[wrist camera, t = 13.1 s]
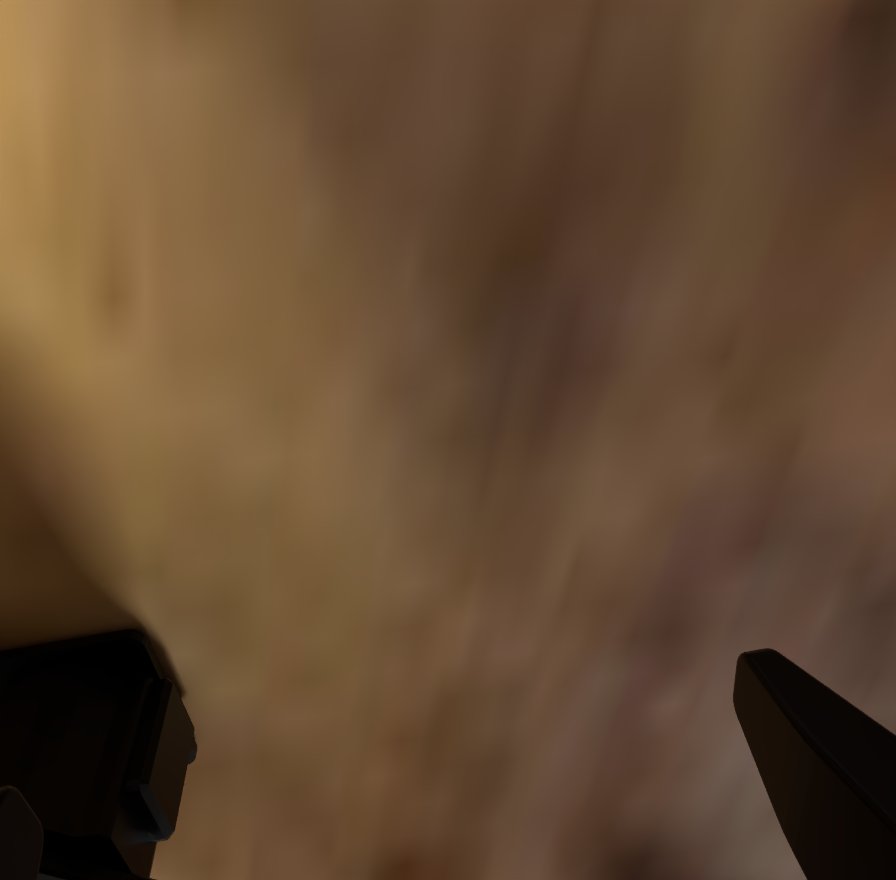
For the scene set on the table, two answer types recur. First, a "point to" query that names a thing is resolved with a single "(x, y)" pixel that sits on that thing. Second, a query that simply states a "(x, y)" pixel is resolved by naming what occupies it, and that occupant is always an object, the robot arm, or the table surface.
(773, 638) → the table surface
